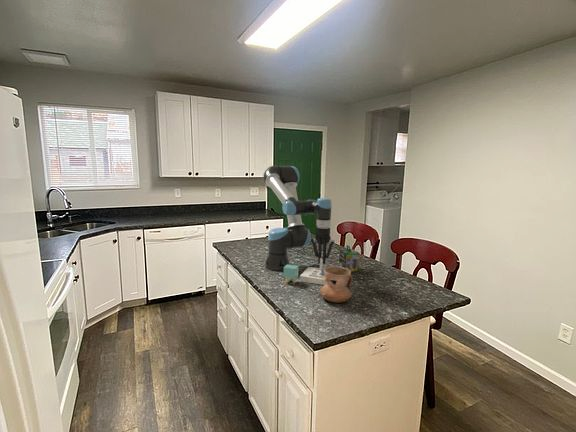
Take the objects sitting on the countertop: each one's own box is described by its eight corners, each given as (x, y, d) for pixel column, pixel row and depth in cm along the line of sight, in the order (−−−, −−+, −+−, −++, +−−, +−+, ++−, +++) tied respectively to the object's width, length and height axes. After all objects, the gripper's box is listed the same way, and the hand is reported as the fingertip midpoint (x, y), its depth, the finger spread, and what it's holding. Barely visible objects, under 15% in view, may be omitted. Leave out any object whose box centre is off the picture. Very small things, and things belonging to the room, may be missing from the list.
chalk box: (359, 271, 185) (360, 247, 182) (345, 272, 182) (346, 248, 180) (351, 266, 193) (353, 243, 191) (338, 267, 191) (339, 244, 188)
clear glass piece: (320, 276, 166) (321, 268, 166) (324, 271, 174) (324, 264, 173) (334, 278, 164) (334, 270, 163) (337, 273, 171) (337, 266, 171)
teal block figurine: (283, 282, 164) (283, 267, 163) (286, 279, 169) (287, 264, 168) (295, 284, 162) (295, 269, 161) (298, 281, 167) (298, 266, 165)
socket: (299, 281, 167) (299, 274, 166) (308, 271, 182) (308, 265, 181) (336, 287, 160) (336, 280, 159) (342, 276, 175) (342, 270, 174)
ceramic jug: (330, 308, 136) (332, 278, 133) (311, 296, 148) (313, 267, 146) (361, 301, 145) (363, 272, 142) (341, 290, 157) (343, 263, 155)
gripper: (309, 227, 165) (308, 269, 169) (333, 229, 160) (331, 273, 164) (313, 224, 172) (312, 265, 175) (336, 227, 167) (334, 268, 171)
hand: (321, 269), depth 170 cm, fingers closed
